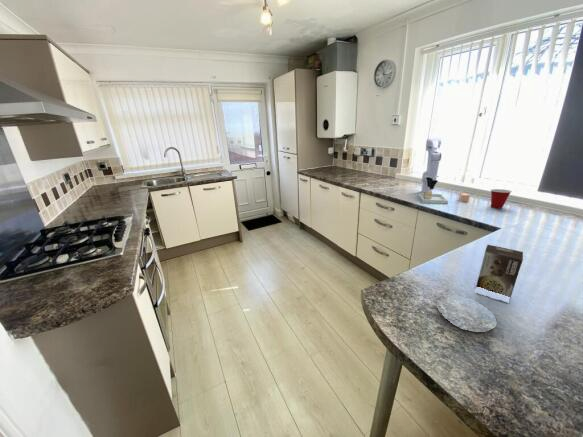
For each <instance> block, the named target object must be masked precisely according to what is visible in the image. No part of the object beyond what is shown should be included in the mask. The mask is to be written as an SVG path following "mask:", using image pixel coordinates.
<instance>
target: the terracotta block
mask: <svg viewBox="0 0 583 437" xmlns="http://www.w3.org/2000/svg"><path fill="white" fill-rule="evenodd" d="M469 200H470V194H468V193H462V192H461V193H460V194H459V197H458V201H460V202H462V203H469Z"/></svg>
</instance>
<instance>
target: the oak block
mask: <svg viewBox="0 0 583 437" xmlns="http://www.w3.org/2000/svg"><path fill="white" fill-rule="evenodd" d="M432 194H433V191H432V192H431V191H424V198H425V199H431V198H432Z"/></svg>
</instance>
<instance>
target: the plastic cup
mask: <svg viewBox="0 0 583 437" xmlns="http://www.w3.org/2000/svg"><path fill="white" fill-rule="evenodd" d="M490 192H491V193H490V194H491V197H490V198H491V199H490V202H491V204H490V207H491V208H494V209H499V210H500V209H502V208H503V207H504V205H505V204H506V202H507V200H508V198H509V196H510V195H511V193H512V190H509V189H500V188H499V189H498V188H493V189H490Z"/></svg>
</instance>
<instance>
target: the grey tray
mask: <svg viewBox="0 0 583 437" xmlns="http://www.w3.org/2000/svg"><path fill="white" fill-rule="evenodd" d="M417 197H418V198H419V200H420V202H422V203H423V204H440V205H441V204H442V205H447V204H449V199H447V197H445V196H444V195H443V194H442V193H432V198H431V199H425V198H424V193H420V192H419V193H418V194H417Z"/></svg>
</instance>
